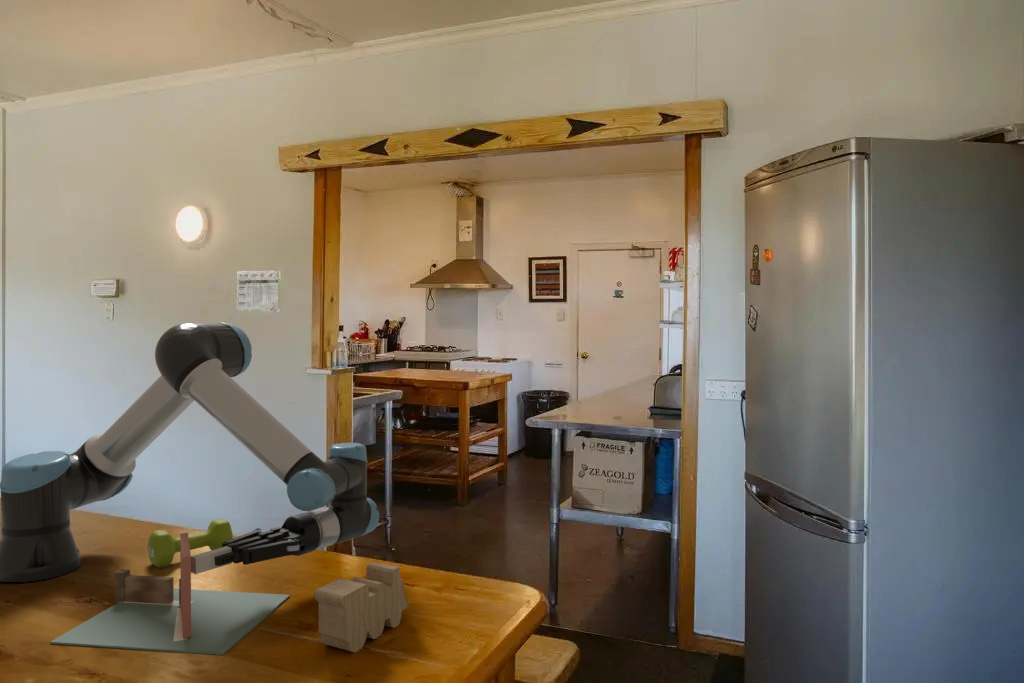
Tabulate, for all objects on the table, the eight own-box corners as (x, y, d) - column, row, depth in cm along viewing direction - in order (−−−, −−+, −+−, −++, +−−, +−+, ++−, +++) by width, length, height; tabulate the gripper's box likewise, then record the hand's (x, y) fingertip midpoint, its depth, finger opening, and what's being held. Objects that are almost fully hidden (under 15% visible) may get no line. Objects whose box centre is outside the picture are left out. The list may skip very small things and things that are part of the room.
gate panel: (180, 606, 124) (180, 533, 124) (188, 605, 125) (187, 532, 125) (182, 638, 112) (182, 557, 112) (191, 636, 112) (190, 556, 112)
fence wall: (114, 603, 127) (114, 572, 127) (121, 599, 129) (121, 569, 129) (185, 607, 125) (185, 576, 125) (191, 603, 127) (191, 572, 127)
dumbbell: (157, 572, 143) (156, 537, 143) (144, 563, 149) (144, 529, 149) (236, 554, 155) (236, 522, 155) (221, 546, 161) (221, 514, 160)
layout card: (50, 643, 111) (50, 641, 111) (145, 588, 134) (145, 586, 134) (223, 655, 108) (223, 653, 107) (289, 596, 131) (289, 594, 131)
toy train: (408, 620, 121) (408, 562, 121) (341, 661, 106) (341, 596, 106) (382, 613, 123) (382, 557, 123) (313, 653, 108) (313, 589, 108)
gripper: (331, 557, 132) (215, 596, 113) (288, 544, 140) (172, 579, 121) (331, 517, 132) (215, 550, 113) (288, 507, 140) (172, 535, 121)
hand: (193, 565), depth 117 cm, fingers closed
